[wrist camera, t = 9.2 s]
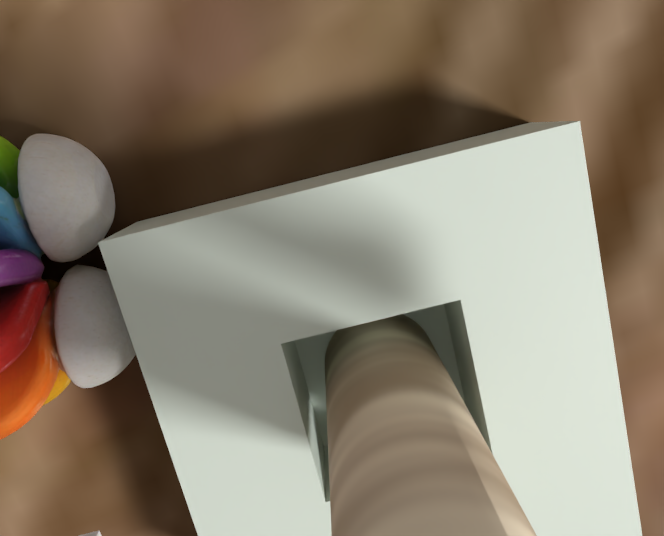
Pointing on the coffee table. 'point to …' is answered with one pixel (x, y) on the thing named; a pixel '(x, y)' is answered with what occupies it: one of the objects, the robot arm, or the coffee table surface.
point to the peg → (407, 442)
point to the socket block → (378, 303)
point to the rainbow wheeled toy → (48, 295)
